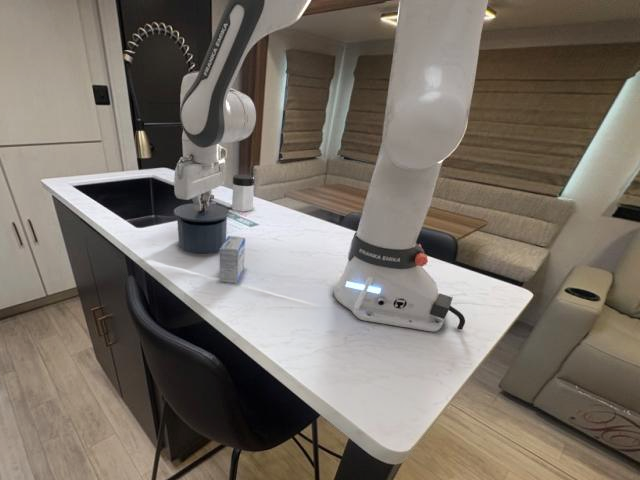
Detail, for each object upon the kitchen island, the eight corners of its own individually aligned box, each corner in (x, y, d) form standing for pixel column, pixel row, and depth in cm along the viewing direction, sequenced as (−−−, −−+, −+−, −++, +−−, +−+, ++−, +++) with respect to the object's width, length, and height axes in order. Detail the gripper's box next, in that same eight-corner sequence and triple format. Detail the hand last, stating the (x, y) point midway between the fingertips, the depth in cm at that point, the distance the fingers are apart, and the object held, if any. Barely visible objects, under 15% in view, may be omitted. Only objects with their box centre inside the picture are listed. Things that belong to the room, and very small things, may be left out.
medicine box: (237, 284, 71) (239, 250, 67) (218, 282, 72) (219, 247, 67) (243, 269, 78) (245, 237, 73) (226, 267, 79) (227, 235, 74)
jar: (253, 212, 118) (255, 179, 112) (231, 211, 118) (233, 178, 111) (251, 205, 126) (253, 174, 119) (231, 204, 125) (232, 173, 119)
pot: (233, 242, 92) (234, 214, 88) (212, 260, 82) (212, 229, 77) (194, 234, 96) (194, 207, 92) (169, 249, 86) (167, 219, 81)
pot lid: (237, 212, 88) (238, 198, 85) (213, 228, 76) (213, 212, 74) (192, 203, 92) (192, 190, 90) (162, 217, 81) (161, 202, 78)
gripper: (189, 159, 67) (191, 221, 74) (230, 149, 82) (228, 201, 90) (165, 156, 69) (169, 217, 76) (209, 147, 84) (209, 198, 92)
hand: (202, 208), depth 83 cm, fingers closed on pot lid, 2 cm apart
